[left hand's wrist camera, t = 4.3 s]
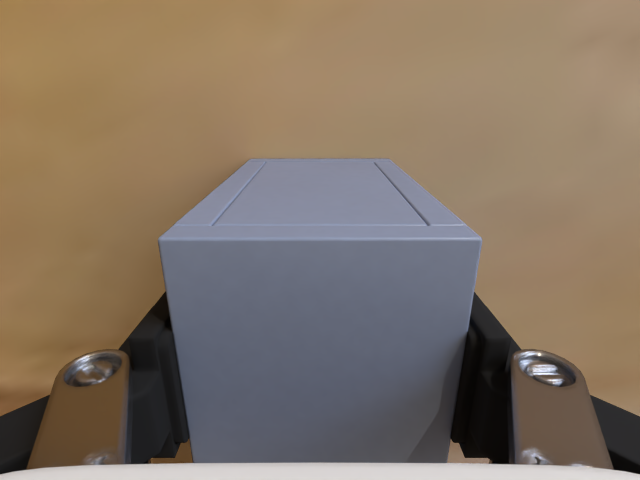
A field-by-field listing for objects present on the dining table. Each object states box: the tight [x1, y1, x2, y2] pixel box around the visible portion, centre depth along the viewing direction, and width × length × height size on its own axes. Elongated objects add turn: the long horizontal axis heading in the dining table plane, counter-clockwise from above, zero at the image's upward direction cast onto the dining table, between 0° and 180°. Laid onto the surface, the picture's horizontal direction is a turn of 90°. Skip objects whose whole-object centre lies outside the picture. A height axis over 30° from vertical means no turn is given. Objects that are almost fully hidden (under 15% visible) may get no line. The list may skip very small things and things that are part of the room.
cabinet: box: [158, 159, 482, 463], centre depth 15 cm, size 19×6×10 cm, turn 0°
